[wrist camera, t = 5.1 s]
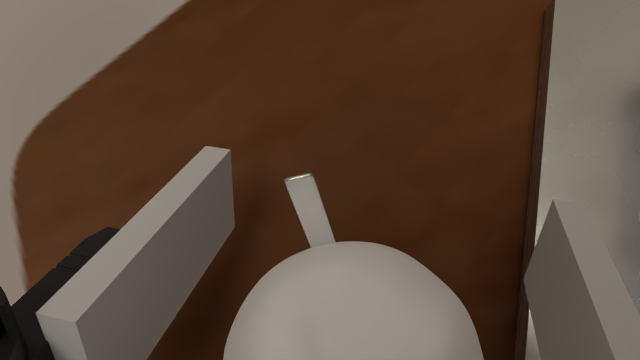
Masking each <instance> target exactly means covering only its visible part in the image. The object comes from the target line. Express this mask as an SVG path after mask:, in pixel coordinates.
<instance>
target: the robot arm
mask: <svg viewBox="0 0 640 360" xmlns="http://www.w3.org/2000/svg"><path fill="white" fill-rule="evenodd" d="M234 227H235V220H234V203H233V186H232V169H231V152H230V150H228V149H222V148H215V147H209V146H205V147H204V148H203V149H202V150H201V151H200V152H199V153H198V154H197V155H196V156H195V157H194V158H193V159H192V160H191V161H190V162H189V163H188V164H187V165H186V166H185V167H184V168H183V169H182V170H181V171H180V172H179V173H178V174H177V175H176V176H175V177H174V178H173V179H172V180H171V181H170V182H169V183H168V184H167V185H166V186H164V187H163V188H162V189H161V190H160V191H159V192H158V193H157V194H156V195H155V196H154V197H153V198H152V199H151V200H150V201H149V202H148V203H147V204H146V205H145V206H144V207H143V208H142V209H141V210H140V211H139V212H138V213H137V214H136V215H135V216H134V217H133V218H132V219H131V220H130V221H129V222H128V223H127V224H126V225H125V226H124V227H123V228H122V229H121V230H120V229H115V228H109V227H107V228H105V229H103V230H101V231H99V232H97V233H95V234H93V235H92V236H90V237H88V238H86V239H85V240H84V241H83V242H81V243H80V244H79V245H78V246H77V247H76V248H75V249H74V250H73V251H72V252H70V255H69V256H66V257H65V258H64V259H63V260H62V261H61V262H60V263H58V264H57V267H56V269H54V268H53V269H52V270H51V271H50V272H49V273H47V274H46V275H45V276H44V277H43V278H42V279H41V280H40V281H39V282H38V283H36V284H35V285H34V286H33V287H32V288H31V289H30V290H29V291H28V292H27V293H25V294H24V295H23V296H22V297H21V298H20V299H19V300H18V301H17V302H16V303H15V304H13V305H12V306H10V304H9V302H8V299H7V297H6V294H5V293H4V291H3V290H2V288H1V287H0V360H147V359H148V357H149V356H150V354H151V353H152V351H153V350H154V348H155V346H156V345H157V343H158V342H159V340H160V339H161V337H162V336H163V334H164V333H165V331H166V330H167V328H168V327H169V325H170V324H171V322H172V321H173V319H174V318H175V316H176V315H177V313H178V312H179V310H180V309H181V307H182V306H183V304H184V303H185V301H186V300H187V298H188V297H189V295H190V294H191V292H192V291H193V289H194V288H195V286H196V285H197V283H198V282H199V280H200V279H201V277H202V276H203V274H204V273H205V271H206V270H207V268H208V267H209V265H210V264H211V262H212V260H213V259H214V257H215V256H216V254H217V253H218V251H219V250H220V248H221V247H222V245H223V244H224V242H225V241H226V239H227V238H228V236H229V235H230V233H231V232H232V230H233V229H234ZM523 281H524V285H525V290H526V294H527V299H528V303H529V308H530V312H531V317H532V321H533V326H534V330H535V335H536V339H537V344H538V348H539V353H540V357H541V360H640V315H639V313H638V311H637V309H636V307H635V305H634V303H633V301H632V299H631V297H630V295H629V293H628V291H627V289H626V287H625V285H624V283H623V281H622V279H621V277H620V275H619V273H618V271H617V268H616V266H615V264H614V262H613V260H612V258H611V256H610V254H609V252H608V250H607V248H606V246H605V244H604V242H603V240H602V238H601V236H600V234H599V232H598V230H597V228H596V226H595V224H594V222H593V220H592V218H591V216H590V214H589V212H588V210H587V208H586V206H585V204H581V203H575V202H568V201H562V200H555V199H553V200H552V203H551V205H550V208H549V211H548V213H547V216H546V219H545V222H544V224H543V227H542V230H541V233H540V235H539V238H538V241H537V243H536V246H535V249H534V252H533V254H532V257H531V260H530V262H529V265H528V268H527V271H526V273H525V276H524V279H523Z"/></svg>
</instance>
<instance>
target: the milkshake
mask: <svg viewBox="0 0 640 360" xmlns="http://www.w3.org/2000/svg"><path fill="white" fill-rule="evenodd" d="M284 183H285V186H286V189H287V191H288V194H289V196H290V199H291V201H292V203H293V206H294V208H295V211H296V213H297V216H298V218H299V220H300V223H301V225H302V228H303V230H304V232H305V235H306V237H307V240H308V242H309V245H310V247H311V248H310V249H307V250H304V251H302V252H299V253H297V254H295V255H293V256H291V257H289V258H287V259H285V260H284V261H282V262H280V263H279V264H277V265H276V266H275V267H273V268H272V269H271V270H270V271H268V272H267V273H266V274H265V275H264V276H263V277H262V278H261V279H260V280H259V281H258V283H257V284H256V285H255V286H254V288H253V289H252V290H251V292H250V293H249V294H248V296H247V297H246V299H245V301H244V302H243V304H242V306H241V307H240V309H239V311H238V313H237V315H236V317H235V319H234V322H233V324H232V327H231V329H230V332H229V335H228V338H227V342H226V346H225V350H224V357H223V360H484V359H483V354H482V350H481V346H480V343H479V339H478V336H477V333H476V330H475V327H474V324H473V322H472V320H471V317H470V315H469V313H468V312H467V310H466V308H465V306H464V305H463V304H462V302H461V301H460V299H459V298H458V297H457V296H456V294H455V293H454V292H453V291H452V290H451V289H450V288H449V287H448V286H447V285H446V284H445V283H444V282H443V281H442V280H440V279H439V278H438V277H437V276H436V275H435V274H433V273H432V272H431V271H430V270H429V269H427V268H426V267H425V266H423V265H422V264H421V263H419V262H418V261H417V260H415V259H414V258H412V257H410V256H409V255H407V254H405V253H403V252H401V251H399V250H397V249H394V248H392V247H389V246H385V245H382V244H377V243H371V242H358V241H348V242H335V239H334V236H333V233H332V230H331V227H330V223H329V220H328V217H327V214H326V211H325V208H324V205H323V202H322V199H321V196H320V193H319V190H318V187H317V184H316V181H315V178H314V176H313V175H312V174H311V173H307V174H302V175H298V176H294V177H289V178H286V179H285V180H284Z"/></svg>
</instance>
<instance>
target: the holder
mask: <svg viewBox="0 0 640 360" xmlns="http://www.w3.org/2000/svg"><path fill="white" fill-rule="evenodd" d="M553 199H555V200H562V201H568V202H575V203H581V204H585V206H586V208H587V210H588V212H589V214H590V216H591V218H592V220H593V222H594V224H595V226H596V228H597V230H598V232H599V234H600V236H601V238H602V240H603V242H604V244H605V246H606V248H607V250H608V252H609V254H610V256H611V258H612V260H613V262H614V264H615V266H616V268H617V271H618V273H619V275H620V277H621V279H622V281H623V283H624V285H625V287H626V289H627V291H628V293H629V295H630V297H631V299H632V301H633V303H634V305H635V307H636V309H637V311H638V313H639V315H640V0H551V2H550V4H549V6H548V7H547V9H546V11H545V14H544V25H543V36H542V47H541V59H540V70H539V81H538V92H537V103H536V115H535V126H534V137H533V148H532V159H531V170H530V182H529V193H528V204H527V215H526V226H525V238H524V249H523V260H522V271H521V282H520V294H519V305H518V316H517V327H516V338H515V350H514V360H541V357H540V353H539V348H538V344H537V339H536V335H535V330H534V326H533V321H532V317H531V312H530V308H529V303H528V299H527V294H526V290H525V285H524V281H523V279H524V276H525V273H526V271H527V268H528V265H529V262H530V260H531V257H532V254H533V252H534V249H535V246H536V243H537V241H538V238H539V235H540V233H541V230H542V227H543V224H544V222H545V219H546V216H547V213H548V211H549V208H550V205H551V203H552V200H553Z"/></svg>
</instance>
